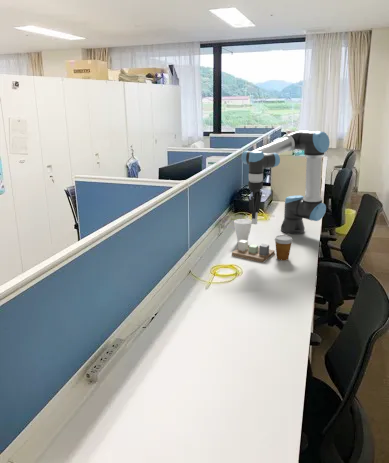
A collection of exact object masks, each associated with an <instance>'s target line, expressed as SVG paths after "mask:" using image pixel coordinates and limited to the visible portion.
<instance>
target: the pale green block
mask: <svg viewBox="0 0 389 463" xmlns="http://www.w3.org/2000/svg"><path fill="white" fill-rule="evenodd" d="M258 247H259V244H252V243H251V244H250V246H249V252H250V253H255V254H256V253H257V252H258Z"/></svg>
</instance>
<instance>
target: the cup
mask: <svg viewBox="0 0 389 463" xmlns="http://www.w3.org/2000/svg"><path fill="white" fill-rule="evenodd" d="M233 222H234V223H233V225H234V231H235V235H236V242H237V244H238V242H239V241H240V240H246V241H248V242H249V235H250V232H251V228H252V225H253V224H252V219H246V218H238V219H235V220H233Z"/></svg>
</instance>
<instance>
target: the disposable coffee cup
mask: <svg viewBox="0 0 389 463" xmlns="http://www.w3.org/2000/svg"><path fill="white" fill-rule="evenodd" d="M274 242H275V252H276V259H277V260H279V261H288V260H289V257H290V254H291V248H292V243H293V238H292V236H289V235H286V234H280V235H276V236H275V237H274Z"/></svg>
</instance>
